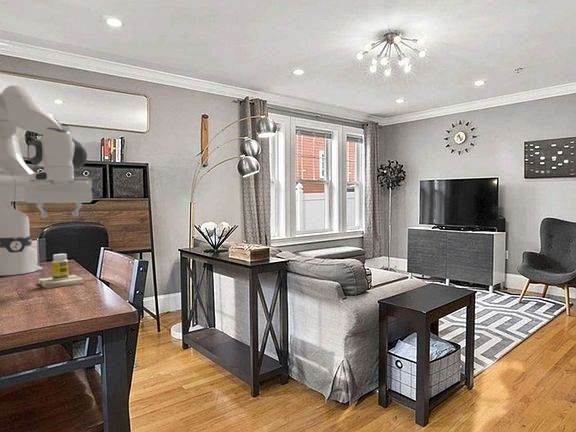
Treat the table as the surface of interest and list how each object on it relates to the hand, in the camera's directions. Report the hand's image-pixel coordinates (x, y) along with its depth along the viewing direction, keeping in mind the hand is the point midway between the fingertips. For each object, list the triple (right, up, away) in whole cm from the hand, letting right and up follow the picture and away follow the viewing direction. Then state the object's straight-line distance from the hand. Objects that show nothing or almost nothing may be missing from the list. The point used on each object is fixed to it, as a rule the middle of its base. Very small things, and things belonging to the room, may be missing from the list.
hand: (60, 216), depth 135 cm
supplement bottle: (0, -22, -1) cm, 22 cm away
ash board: (+1, -23, 0) cm, 23 cm away
